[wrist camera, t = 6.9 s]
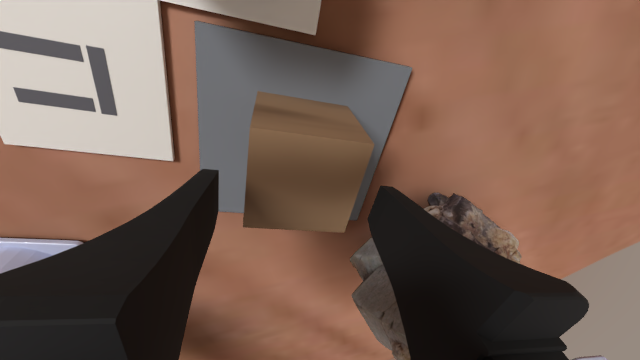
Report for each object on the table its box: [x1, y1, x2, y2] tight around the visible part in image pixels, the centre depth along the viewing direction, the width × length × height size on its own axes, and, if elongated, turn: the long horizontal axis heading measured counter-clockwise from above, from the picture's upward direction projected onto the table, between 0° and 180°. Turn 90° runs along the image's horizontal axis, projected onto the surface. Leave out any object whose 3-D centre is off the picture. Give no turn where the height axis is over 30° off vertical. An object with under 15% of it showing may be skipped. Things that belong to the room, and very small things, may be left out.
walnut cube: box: [243, 91, 375, 233], centre depth 14 cm, size 5×5×5 cm
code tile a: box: [0, 0, 175, 161], centre depth 13 cm, size 8×8×1 cm
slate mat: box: [195, 21, 412, 220], centre depth 16 cm, size 11×11×1 cm
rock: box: [350, 193, 521, 360], centre depth 19 cm, size 9×12×10 cm
